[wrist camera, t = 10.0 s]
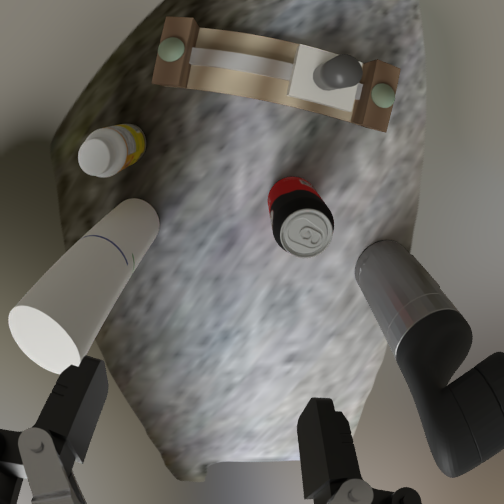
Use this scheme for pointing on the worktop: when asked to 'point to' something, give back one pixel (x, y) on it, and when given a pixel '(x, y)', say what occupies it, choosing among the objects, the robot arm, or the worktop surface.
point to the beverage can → (299, 218)
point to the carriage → (324, 77)
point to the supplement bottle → (111, 149)
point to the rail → (252, 80)
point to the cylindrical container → (83, 287)
